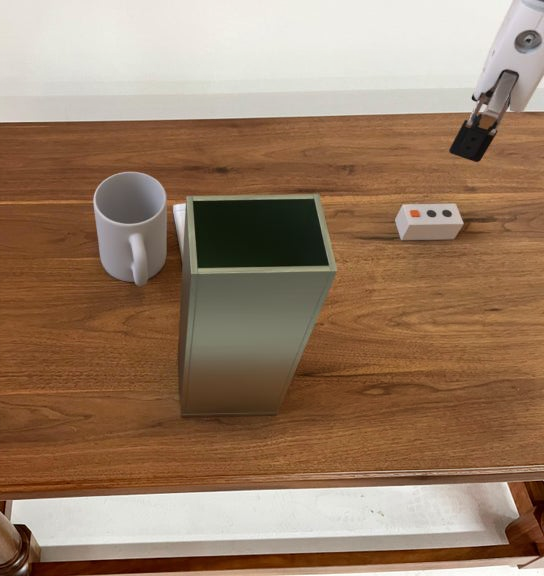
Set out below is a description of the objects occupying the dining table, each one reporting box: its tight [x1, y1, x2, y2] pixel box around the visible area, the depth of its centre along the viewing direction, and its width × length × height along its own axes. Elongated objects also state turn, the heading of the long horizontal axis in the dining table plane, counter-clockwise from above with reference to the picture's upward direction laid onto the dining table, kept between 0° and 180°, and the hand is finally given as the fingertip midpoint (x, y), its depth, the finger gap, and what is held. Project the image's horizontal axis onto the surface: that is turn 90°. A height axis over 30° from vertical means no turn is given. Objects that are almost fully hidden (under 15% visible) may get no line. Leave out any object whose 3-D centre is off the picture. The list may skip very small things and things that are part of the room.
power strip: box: [394, 203, 465, 241], centre depth 78 cm, size 4×7×3 cm, turn 91°
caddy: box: [177, 193, 338, 418], centre depth 56 cm, size 10×8×27 cm
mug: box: [93, 171, 168, 287], centre depth 72 cm, size 12×8×11 cm
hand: (474, 128), depth 65 cm, fingers open, 9 cm apart
